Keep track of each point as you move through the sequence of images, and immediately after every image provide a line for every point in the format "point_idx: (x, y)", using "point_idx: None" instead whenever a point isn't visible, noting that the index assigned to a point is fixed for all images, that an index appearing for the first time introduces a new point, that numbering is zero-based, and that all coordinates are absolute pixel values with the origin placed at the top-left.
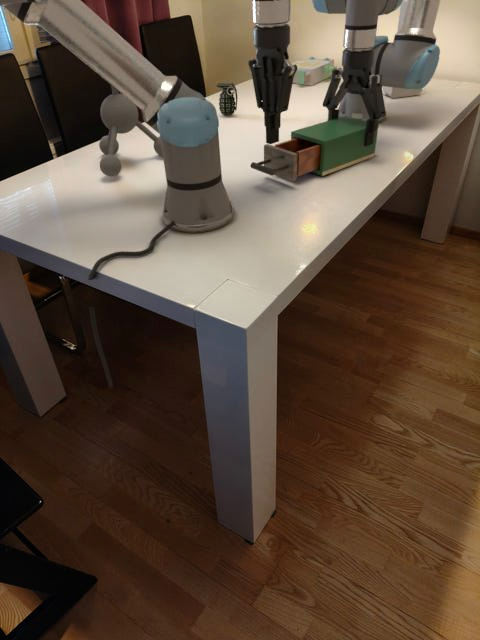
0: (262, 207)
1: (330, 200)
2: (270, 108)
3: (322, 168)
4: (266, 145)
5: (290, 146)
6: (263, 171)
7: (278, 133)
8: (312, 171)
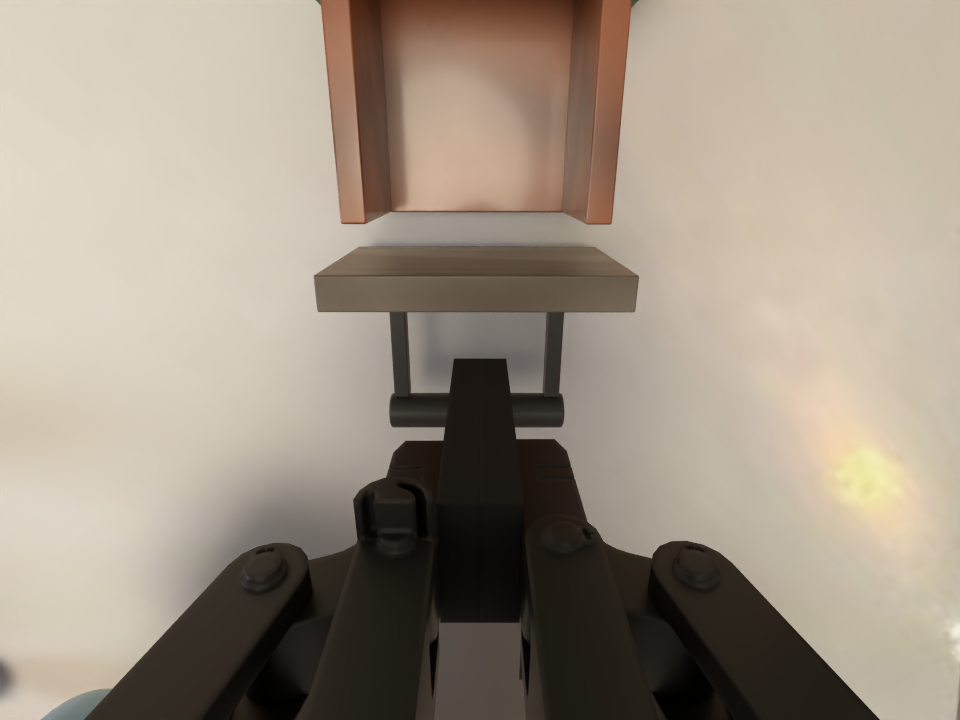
0: (608, 477)
1: (819, 237)
2: (437, 599)
3: (631, 3)
4: (339, 306)
5: (362, 55)
6: None
7: (509, 391)
8: None
